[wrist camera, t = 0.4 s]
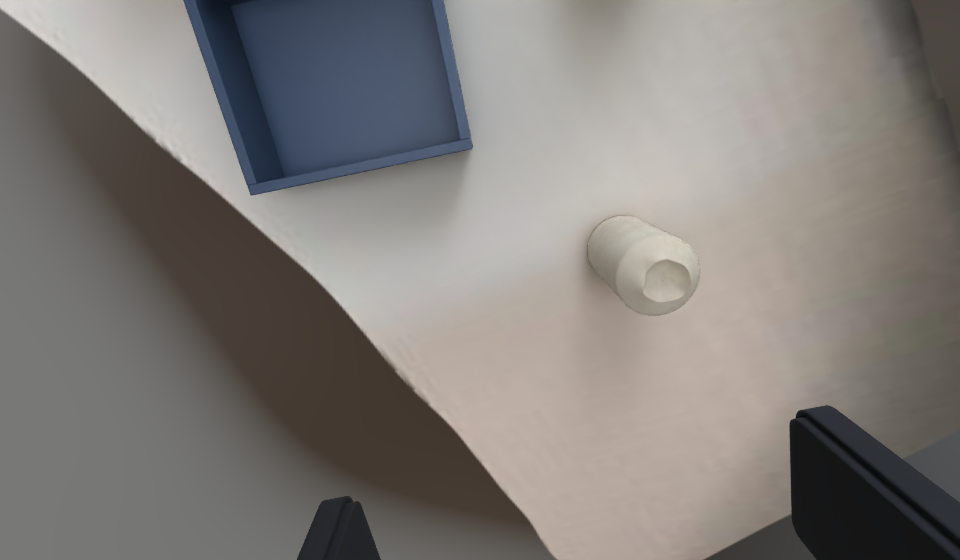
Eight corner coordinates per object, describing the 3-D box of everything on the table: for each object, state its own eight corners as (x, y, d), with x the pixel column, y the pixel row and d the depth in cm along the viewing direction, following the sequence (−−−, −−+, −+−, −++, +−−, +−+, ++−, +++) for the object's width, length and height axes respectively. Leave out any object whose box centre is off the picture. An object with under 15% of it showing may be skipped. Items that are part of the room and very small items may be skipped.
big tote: (221, -1, 33) (173, -27, 28) (433, -50, 33) (425, -87, 27) (282, 187, 37) (250, 195, 32) (472, 146, 36) (472, 148, 31)
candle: (594, 286, 40) (632, 334, 30) (579, 225, 38) (614, 254, 29) (658, 268, 40) (716, 311, 30) (646, 206, 38) (703, 229, 28)
